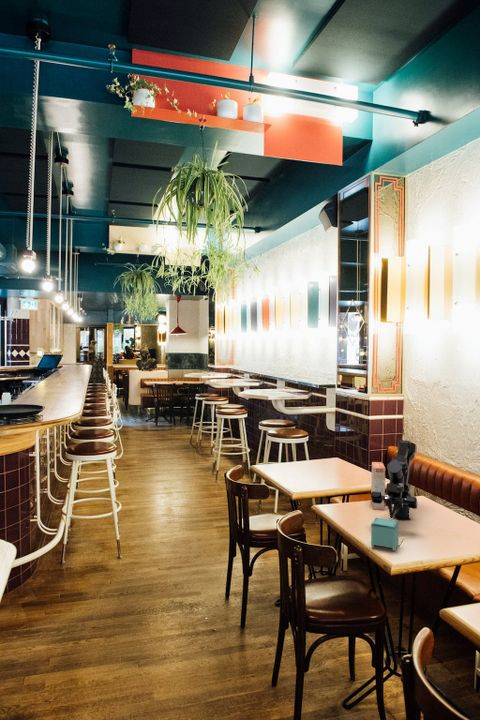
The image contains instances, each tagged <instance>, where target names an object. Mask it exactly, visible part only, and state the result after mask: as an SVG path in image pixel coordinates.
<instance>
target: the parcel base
mask: <svg viewBox="0 0 480 720" xmlns="http://www.w3.org/2000/svg"><path fill="white" fill-rule="evenodd" d="M403 541H404V537H403V536H399V543H398V545H397V547H396V548H400V546H401V544H402V543H403Z"/></svg>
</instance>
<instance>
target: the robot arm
mask: <svg viewBox="0 0 480 720" xmlns="http://www.w3.org/2000/svg"><path fill="white" fill-rule="evenodd" d="M417 448H418V447H417V444H416V443H415V442H412V441H410V440H404V439H401V440H399V441H398V442H397V452H396V455H395V456H393V457H392V459H391V461H390V462H389V463H388V464H387V466H386V467H387V472H388V477H389V483H386V487H385V496H382V495H381V492H375V491H373V492H372V493H371V492H370V500H371V499H372V502H373V503H378V504H380V503H382V500H384V502H385V507H387V509H388V513H389V517H390V519H394V518H395V520H396V521H399V520H400V521H401V520H402V521H403V520H404V521H406V520H407V521H410V520H411V517H410V509H416V510H417V509H418V498H417V496H412V494H411V493H410V492H411V491H410V488H409V485H408V484H409V483H408V482H409V477H410V469H411V461H412V460H413V459H414V458H415V455H416V453H417V451H418V449H417Z"/></svg>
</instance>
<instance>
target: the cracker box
mask: <svg viewBox="0 0 480 720" xmlns="http://www.w3.org/2000/svg"><path fill="white" fill-rule="evenodd" d="M370 487H371V489H370V490H371V491H370V494H371V493H372V492H373V491H375V492H381V495H382V496H385V495H386V466H385V465H384V463H383V462H382V461H372V462H371V486H370ZM370 502H371V507H372V510H375V511H376V510H378V511H385V508H386V506H385V502H384V500H382V503H380V504H378V503H373V502H372V499H371V498H370Z"/></svg>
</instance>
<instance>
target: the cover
mask: <svg viewBox="0 0 480 720" xmlns="http://www.w3.org/2000/svg"><path fill="white" fill-rule="evenodd" d="M399 524H400V523H399V520H392V519H386V518H379V517H375V518H374V519H373V521H372V522H371V530H370V531H371V532H370V533H371V535H370V536H371V537H370V540H371V541H370V545H371V547H374V546H381V547H385V548H390V549H392V551H396V550H397V548H398V547H397V545H398V543H399V537H400V536H399V534H400V533H399V532H400V531H399Z"/></svg>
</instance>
